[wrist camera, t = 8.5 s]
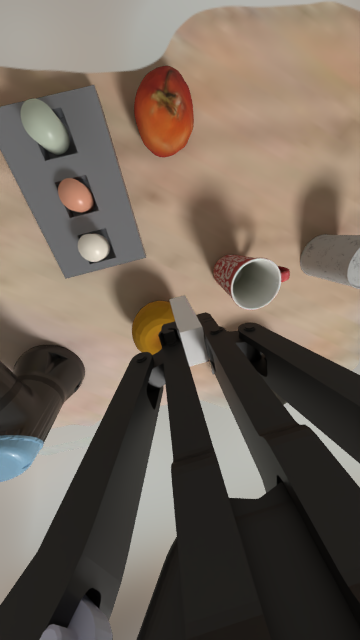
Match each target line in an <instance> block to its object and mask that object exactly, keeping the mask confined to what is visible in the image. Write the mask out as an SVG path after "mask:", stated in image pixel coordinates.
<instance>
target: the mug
mask: <svg viewBox="0 0 360 640" xmlns="http://www.w3.org/2000/svg"><path fill="white" fill-rule="evenodd" d="M213 275H214V278H215V280H216V282H217V283H218V284H219V285H220V286H221V287H222V288H223V289H224V290H225V291H226V292H227V293H228V294H229V295H230V296H231V298H232V299H233V301H234V302H235V303H236V304H237V305H238V306H239V307H241V308H243V309H246V310H256V309H260V308H262V307H264V306H266V305H267V304H269V303H270V302H271V301H272V300H273V299H274V298H275V296H276V295H277V293H278V291H279V289H280V285H281V282H284V281H286V280H288V279H289V276H290V271H289V269H287V268H285V267H280V266H277V265H276V264H275V263H274V262H273V261H271V260H269V259H267V258H252V257H245V256H238V255H226V256H223V257H222V258H220V259H219V260H218V261H217V263H216V264H215V267H214V271H213Z"/></svg>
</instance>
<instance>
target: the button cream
mask: <svg viewBox="0 0 360 640" xmlns="http://www.w3.org/2000/svg"><path fill="white" fill-rule="evenodd" d="M78 250H79V252H80V254H81V256H82V257H83V258H85V259H86V260H88V261H91V262H97V261H100V260H102V259H103V258H105V257H107V256H108V254H109V252H110V245H109V242H108V240H107V239H106V238H105V237H104V236H102V235H100V234H85V235H83V236H82V237H81V238H80V239H79V241H78Z"/></svg>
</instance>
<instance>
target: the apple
mask: <svg viewBox="0 0 360 640" xmlns="http://www.w3.org/2000/svg"><path fill="white" fill-rule="evenodd" d="M174 321H175V318H174V315H173V311H172V307H171V304H170V302H167V301H155V302H152V303H148V304H147V305H146V306H144V307H143V308H142V309H141V310H140V311H139V312H138V314H137V315H136V317H135V319H134V321H133V325H132V336H133V340H134V343H135V345H136V347H137V349H139V350H140V351H141V352H149V353H151V354H152V355H153V354H155V353H157V352H159V351H160V350H161V349H162V346H161V342H160V339H159V336H158V334H159V332H160V331H161V328H162V326H163V324H167V323H170V322H174Z"/></svg>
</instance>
